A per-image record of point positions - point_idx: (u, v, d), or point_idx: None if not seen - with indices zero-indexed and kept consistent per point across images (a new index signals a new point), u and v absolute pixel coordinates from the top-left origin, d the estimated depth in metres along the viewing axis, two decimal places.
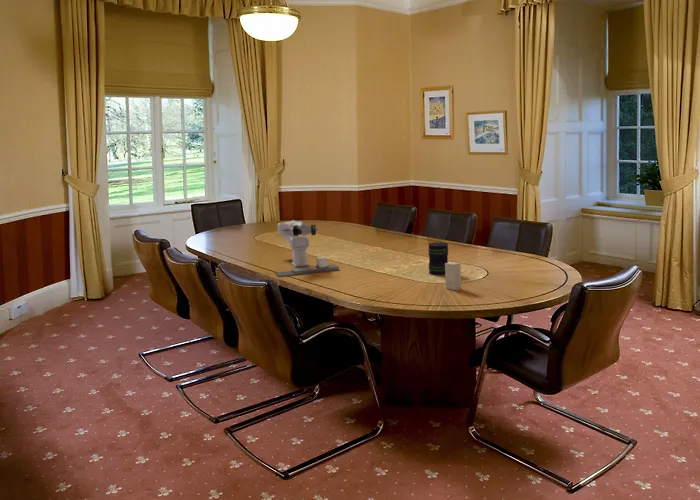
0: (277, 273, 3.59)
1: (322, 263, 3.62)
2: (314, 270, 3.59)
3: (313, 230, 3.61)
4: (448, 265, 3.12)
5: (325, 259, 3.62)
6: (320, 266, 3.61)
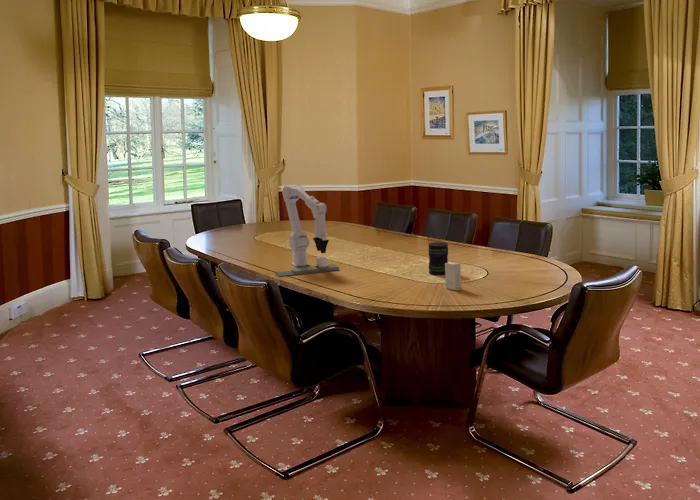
0: (277, 273, 3.59)
1: (322, 263, 3.61)
2: (314, 270, 3.59)
3: (319, 246, 3.66)
4: (448, 265, 3.12)
5: (325, 259, 3.62)
6: (320, 266, 3.61)
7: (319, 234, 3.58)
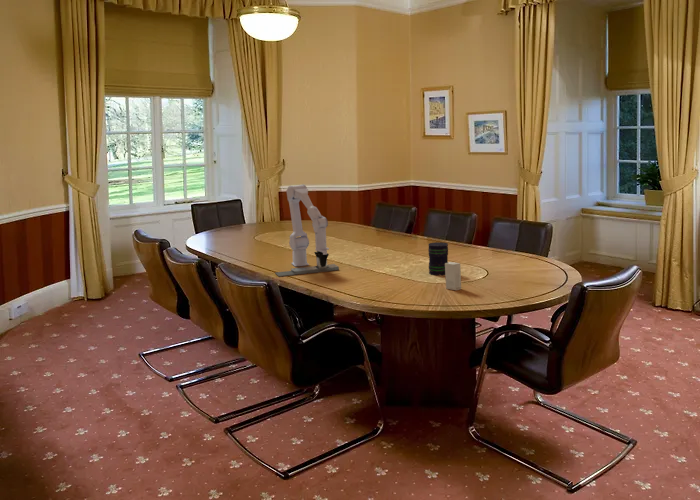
0: (277, 273, 3.59)
1: None
2: (314, 270, 3.59)
3: None
4: (448, 265, 3.12)
5: None
6: (320, 266, 3.61)
7: (320, 248, 3.59)
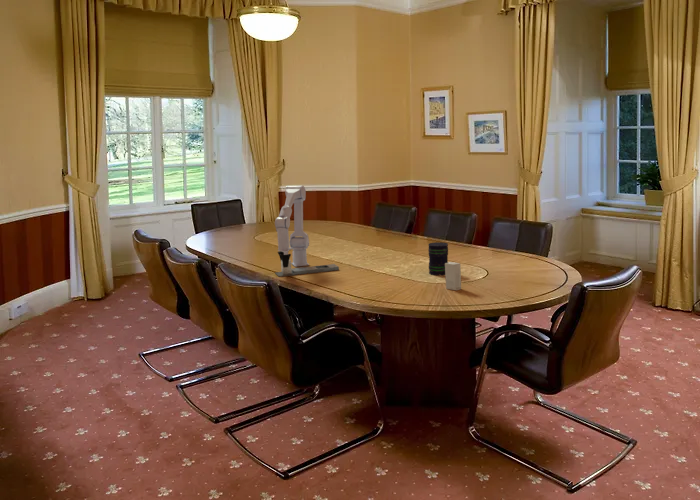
0: (277, 273, 3.59)
1: None
2: (314, 270, 3.59)
3: None
4: (448, 265, 3.12)
5: (289, 262, 3.55)
6: (284, 269, 3.55)
7: (282, 248, 3.53)
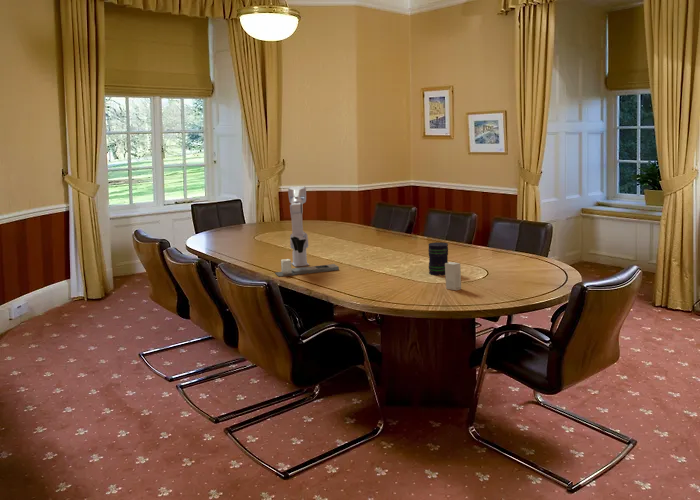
0: (277, 273, 3.59)
1: (286, 266, 3.55)
2: (314, 270, 3.59)
3: (297, 246, 3.67)
4: (448, 265, 3.12)
5: (289, 262, 3.55)
6: (284, 269, 3.55)
7: (296, 234, 3.59)
